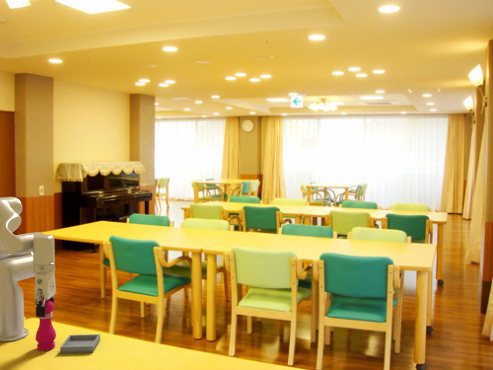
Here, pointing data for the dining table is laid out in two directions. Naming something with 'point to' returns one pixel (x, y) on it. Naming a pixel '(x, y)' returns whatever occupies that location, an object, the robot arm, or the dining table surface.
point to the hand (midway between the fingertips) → (45, 312)
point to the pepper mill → (46, 329)
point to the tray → (80, 344)
